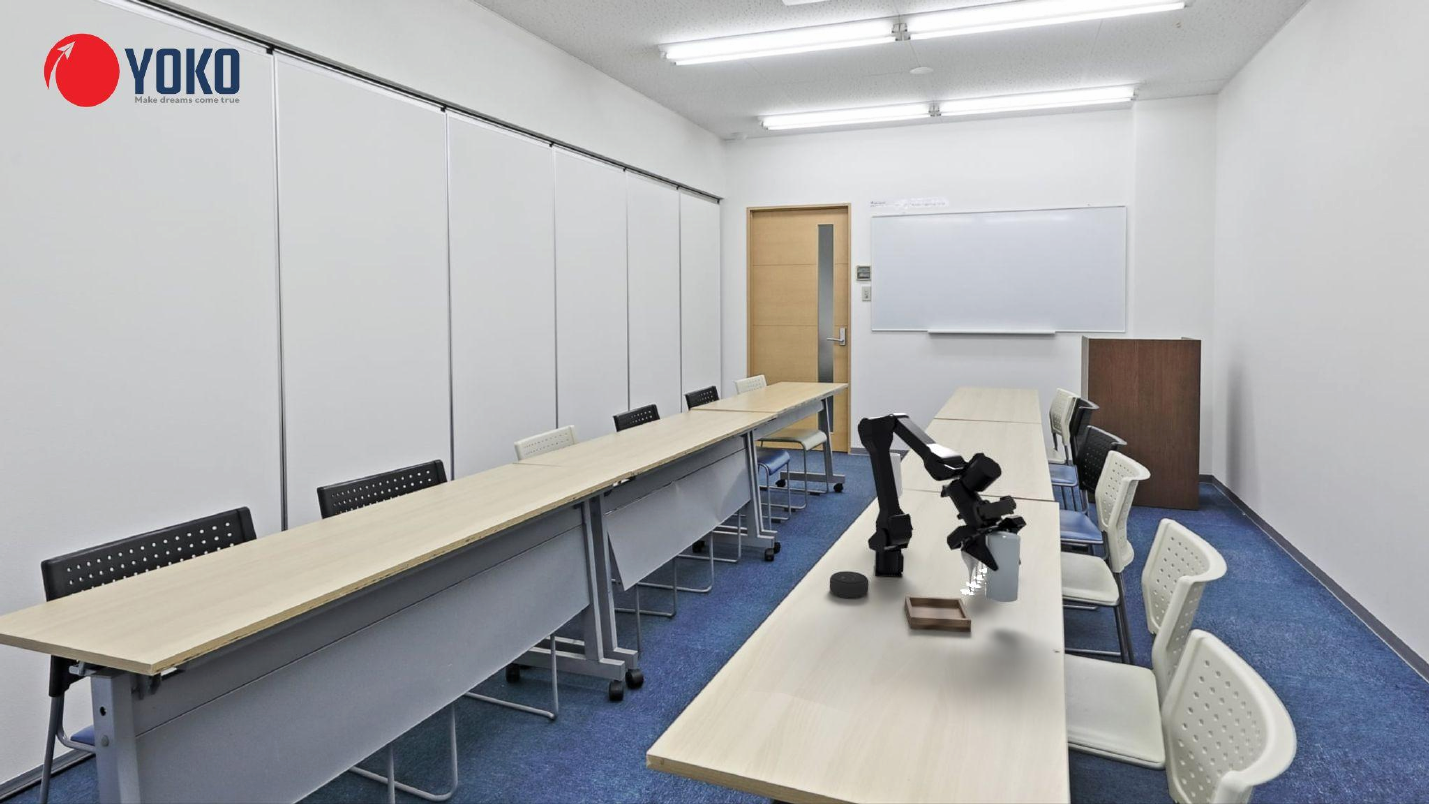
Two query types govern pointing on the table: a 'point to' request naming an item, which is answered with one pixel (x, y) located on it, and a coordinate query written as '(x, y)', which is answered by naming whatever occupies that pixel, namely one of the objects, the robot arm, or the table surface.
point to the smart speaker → (849, 584)
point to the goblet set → (972, 564)
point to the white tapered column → (897, 472)
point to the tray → (937, 613)
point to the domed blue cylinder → (1003, 567)
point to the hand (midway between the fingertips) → (1008, 567)
